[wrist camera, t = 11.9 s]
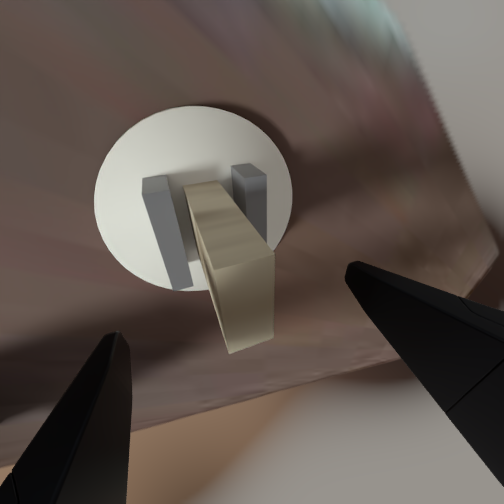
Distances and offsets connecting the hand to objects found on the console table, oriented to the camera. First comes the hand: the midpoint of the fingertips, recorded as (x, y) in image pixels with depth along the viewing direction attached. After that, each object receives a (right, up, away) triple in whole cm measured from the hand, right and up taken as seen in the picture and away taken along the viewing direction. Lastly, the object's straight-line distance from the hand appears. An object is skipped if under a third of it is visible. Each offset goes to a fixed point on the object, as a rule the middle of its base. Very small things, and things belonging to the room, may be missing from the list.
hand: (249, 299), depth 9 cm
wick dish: (-3, +5, +7) cm, 9 cm away
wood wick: (-3, +4, +6) cm, 8 cm away
